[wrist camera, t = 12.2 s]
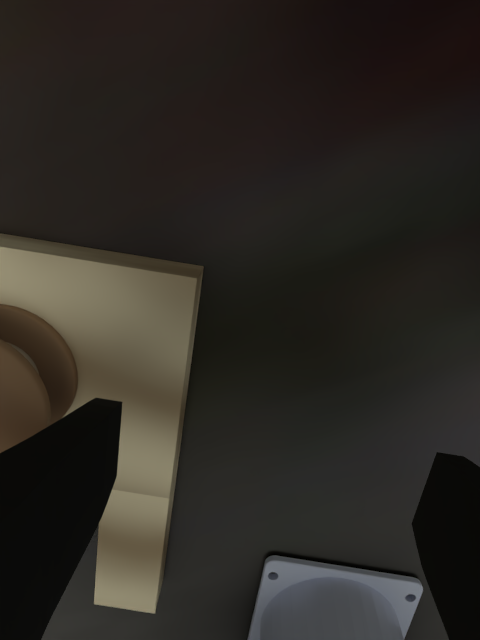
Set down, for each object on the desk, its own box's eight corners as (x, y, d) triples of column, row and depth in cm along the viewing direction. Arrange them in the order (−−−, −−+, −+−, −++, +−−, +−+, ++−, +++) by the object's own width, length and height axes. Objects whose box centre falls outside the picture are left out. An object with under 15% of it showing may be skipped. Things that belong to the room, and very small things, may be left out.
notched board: (163, 578, 24) (139, 679, 20) (-100, 536, 24) (-187, 627, 20) (203, 266, 19) (183, 302, 14) (-139, 210, 19) (-276, 228, 14)
